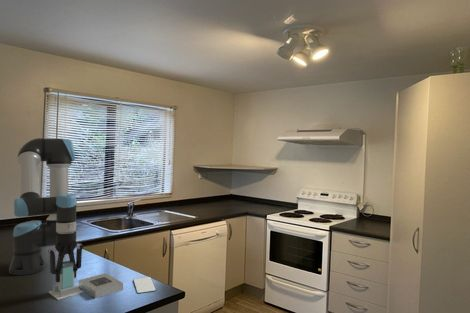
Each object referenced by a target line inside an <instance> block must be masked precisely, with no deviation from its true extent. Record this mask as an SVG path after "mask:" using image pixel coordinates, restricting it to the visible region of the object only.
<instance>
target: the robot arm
mask: <svg viewBox="0 0 470 313" xmlns="http://www.w3.org/2000/svg"><path fill="white" fill-rule="evenodd" d="M75 156H76V154H75V148H74V144H73V142H72V140H71V139H69V138H42V137H39V138H38V137H37V138H33V139H30V140H29V141H27V142H25V144H23V145H22V146H21V148H20V149H19V151H18V153H17V162H18V165H19V198H15V199H14V200H13V202H14V203H13V204H14V205H13V206H14V207H13V212H14V213H13V214H14V216H15V217H16V218H17V217H19V218H23V217H24V218H26V217H27V218H28V217H34V216H48V215H49V216H48V217H47V218H46V220H45V222H43V223H42V220H35V219H34V220H30V221H25V222H24V221H23V222H21V223H19V224H16V225H15V226H14V228H13V233H12V237H13V254H12V255H13V256H12V259H11V262H10V265H9V268H8V274H9V275H13V276H26V275H32V274H33V275H34V274H37V273H39V272H40V273H41V271H44V270H45V269H46V262H45V260H44V259H45V258H44V256H43V253H42V248H46V247H53V246H54V247H53V248H51V249H50V248H49V249H48V250H47V252H48V255H49V270H50V271H49V272H50V273H51V275H55V283H56V284H58V289H59V290H62V274H61V268H62V263H63V262H64V259H65V256H66V255H68V259H69V261H71V262H73V286H75V279H76V278H77V271H78V269H81V268H82V256H83V254H82V253H83V249H84V244H83V243H78V242H77V231H76V230H77V205H78V204H77V203H78V201H77V196H76V194H74V193H69V168H70V167H71V166H72V162H75V159H76V158H75ZM41 162H45V165H46V166H47V168H49V196H44V197H41V189H40V184H41V183H40V166H39V164H40V163H41ZM75 250H76V254H75V252H74V251H75ZM56 252H58V254H57V255H58V256H57V261H56ZM75 255H76V258H75Z"/></svg>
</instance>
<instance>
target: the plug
mask: <svg viewBox="0 0 470 313" xmlns="http://www.w3.org/2000/svg"><path fill="white" fill-rule="evenodd" d="M61 274H62V289H66V288H70V287H73V262H71V261H70V260H64V261H63V263H62V268H61ZM59 292H60V290H59Z"/></svg>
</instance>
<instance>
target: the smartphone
mask: <svg viewBox="0 0 470 313" xmlns="http://www.w3.org/2000/svg"><path fill="white" fill-rule="evenodd" d="M132 282H133V285H134V288H135V291H136V294H138V295H141V294H147V293H154V292H156V291H157V289H156V286H155V284H154V282H153V279H152V276H144V277H137V278H133V280H132Z"/></svg>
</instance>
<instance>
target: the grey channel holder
mask: <svg viewBox="0 0 470 313" xmlns="http://www.w3.org/2000/svg"><path fill="white" fill-rule="evenodd" d="M52 288H53V290H49V291H48V294H49V295H51V296H52V297H53V298H55V299H56V300H57V301H59V300H63V299H67V298H69V296H70V297H72V296H76V294H77V295H80V294H83V293H84V290H82V289H81V288H79V285H74V286H73V287H70V288H66V289H62V290H60V292H59V289H58V283H56V284H53V285H52ZM66 297H67V298H66Z"/></svg>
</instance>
